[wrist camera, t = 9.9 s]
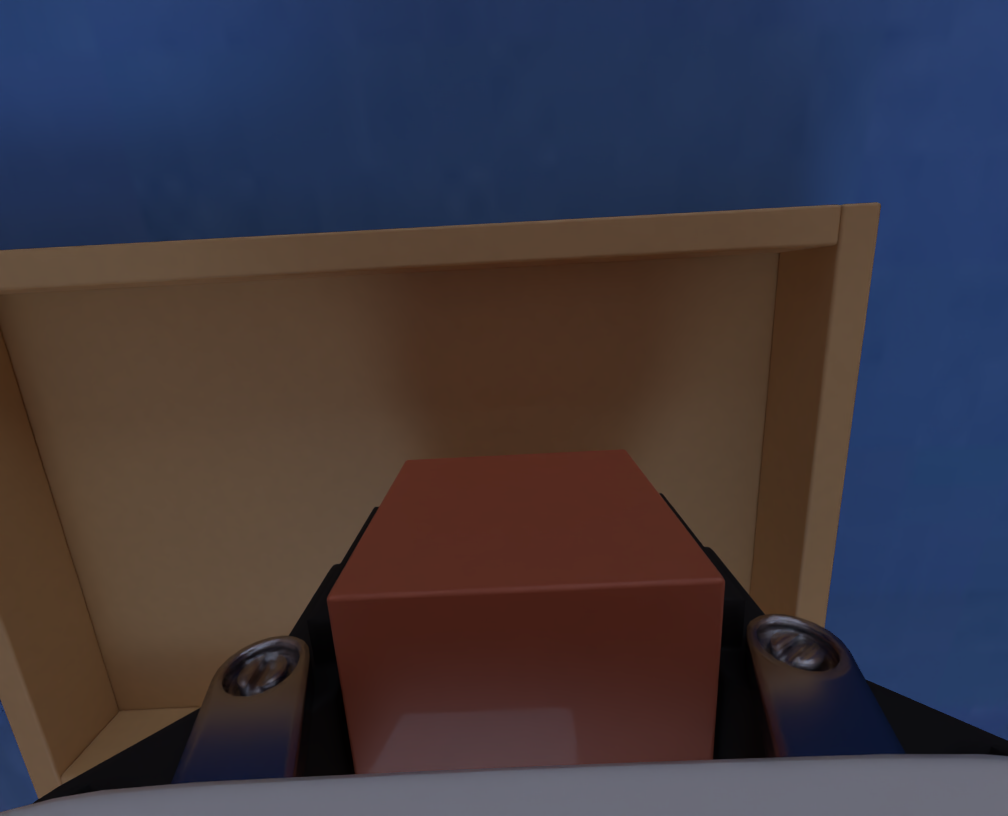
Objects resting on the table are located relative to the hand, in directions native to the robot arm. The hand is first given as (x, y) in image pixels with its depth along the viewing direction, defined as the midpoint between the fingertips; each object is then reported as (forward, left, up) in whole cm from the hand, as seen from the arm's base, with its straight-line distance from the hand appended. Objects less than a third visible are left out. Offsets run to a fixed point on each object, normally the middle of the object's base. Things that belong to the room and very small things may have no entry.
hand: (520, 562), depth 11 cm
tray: (-3, 0, -3) cm, 5 cm away
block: (0, 0, 0) cm, 0 cm away
